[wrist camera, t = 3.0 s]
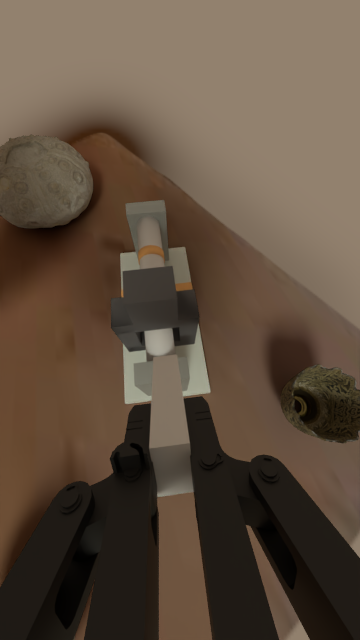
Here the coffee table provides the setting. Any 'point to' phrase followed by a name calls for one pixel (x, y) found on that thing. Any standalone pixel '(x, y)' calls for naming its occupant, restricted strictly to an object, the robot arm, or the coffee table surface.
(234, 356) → the coffee table surface
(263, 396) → the coffee table surface
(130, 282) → the collar
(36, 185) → the grey stone
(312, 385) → the cup
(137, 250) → the pipe stand
